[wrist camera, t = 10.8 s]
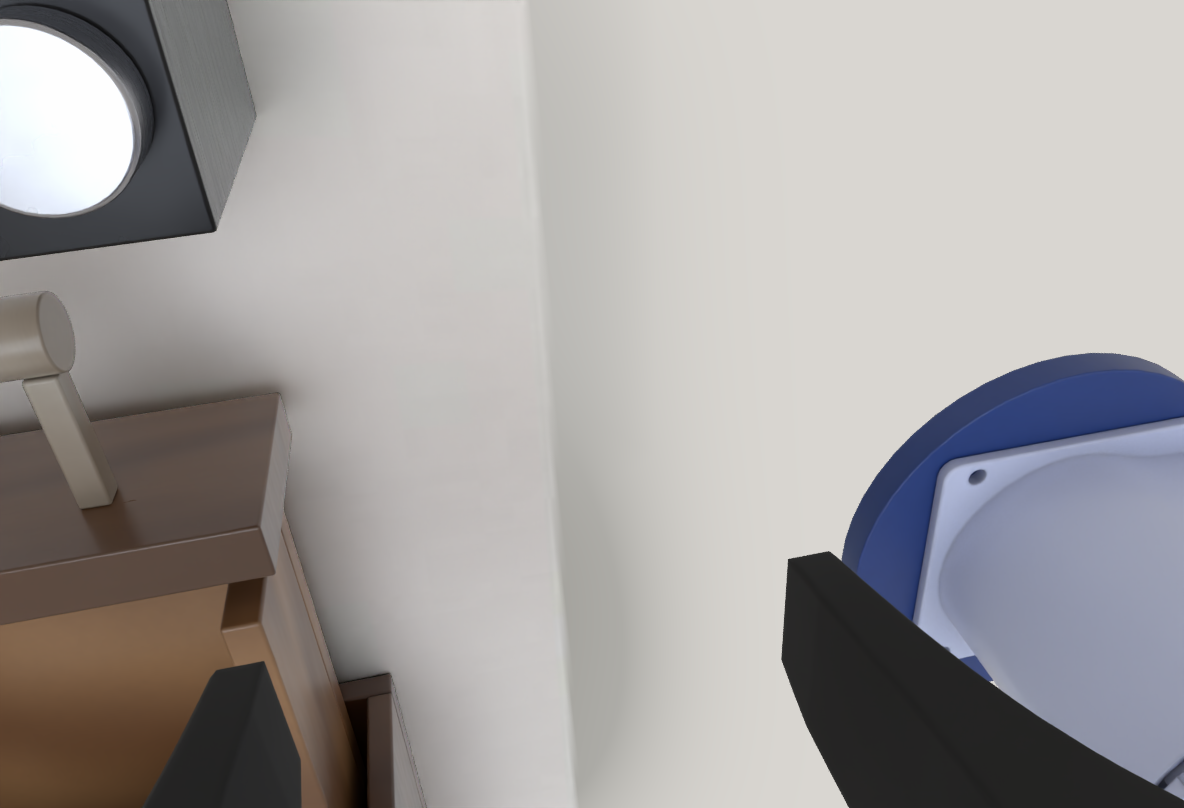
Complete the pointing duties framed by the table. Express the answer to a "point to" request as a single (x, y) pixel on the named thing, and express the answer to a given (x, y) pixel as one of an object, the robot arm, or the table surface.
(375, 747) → the cabinet
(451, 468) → the table surface
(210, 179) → the push button
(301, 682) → the drawer
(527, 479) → the table surface
